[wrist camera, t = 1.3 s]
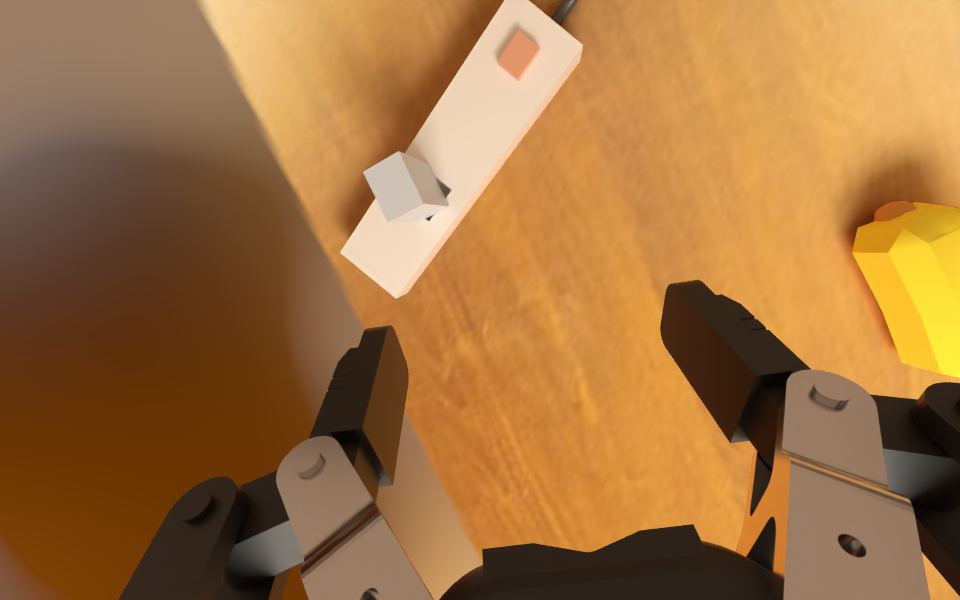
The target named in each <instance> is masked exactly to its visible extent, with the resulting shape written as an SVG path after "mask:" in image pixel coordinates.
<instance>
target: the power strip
mask: <svg viewBox="0 0 960 600" xmlns="http://www.w3.org/2000/svg"><path fill="white" fill-rule="evenodd" d="M576 2H577V0H564V1H563V2H562V4H561V5H560V7H559V8H558V10H557V11H556V12H555V14H554V15H553V17H552V18H550V17H548V16H547V15H546V14H545V13H543V12H542V11H541V10H540V9H539V8H537V7H536V6H535V5H534V4H533V3H531V2H530V1H529V0H504V2H503V3H502V5H501V6H500V8H499V9H498V11H497V13H496V14H495V16H494V17H493V19H492V20H491V22H490V23H489V25H488V26H487V28H486V29H485V31H484V33H483V34H482V36H481V37H480V39H479V40H478V42H477V43H476V45H475V46H474V48H473V49H472V51H471V52H470V54H469V56H468V57H467V59H466V60H465V62H464V63H463V65H462V66H461V68H460V69H459V71H458V72H457V74H456V75H455V77H454V79H453V80H452V82H451V83H450V85H449V86H448V88H447V89H446V91H445V92H444V94H443V95H442V97H441V98H440V100H439V102H438V103H437V105H436V106H435V108H434V109H433V111H432V112H431V114H430V115H429V117H428V118H427V120H426V121H425V123H424V125H423V126H422V128H421V129H420V131H419V132H418V134H417V135H416V137H415V138H414V140H413V141H412V143H411V144H410V146H409V148H408V149H407V151H406V152H405V154H406V155H409V156H411V157H413V158H416V159H418V160H420V161H422V162H425V163H427V164H429V165H430V167H431V169H432V171H433V173H434V175H435V177H436V180H437V182H438V184H439V186H440V188H441V190H442V192H443V194H444V197H445V199H446V201H447V203H448V205H449V207H447V208H445V209H443V210H441V211H439V212H437V213H436V214H434V215H432V216H430V217H428V218H426V219H424V220H422V221H420V222H396V223H388V222H387V220H386V218H385V216H384V214H383V212H382V210H381V208H380V206H379V204H378V202H377V200H376V198H375V200H374V201H373V203H372V204H371V206H370V207H369V209H368V210H367V212H366V214H365V215H364V217H363V218H362V220H361V221H360V223H359V224H358V226H357V227H356V229H355V230H354V232H353V233H352V235H351V237H350V238H349V240H348V241H347V243H346V244H345V246H344V247H343V249H342V250H341V252H340V253H341V254H342V255H344V256H345V257H346V258H347V259H348V260H350V261H351V262H352V263H353V264H355V265H356V266H357V267H358V268H359V269H361V270H362V271H363V272H364V273H365V274H367V275H368V276H369V277H370V278H372V279H373V280H374V281H375V282H376V283H378V284H379V285H380V286H381V287H382V288H384V289H385V290H386V291H387V292H389V293H390V294H391V295H392V296H393V297H395V298H396V299H397V298H398V297H400V296H402V295H404V294H406V293H408V291H409V290H410V289H411V287H412V286H413V285H414V283H415V282H416V281H417V279H418V278H419V277H420V275H421V274H422V273H423V271H424V270H425V268H426V267H427V266H428V264H429V263H430V262H431V260H432V259H433V258H434V256H435V255H436V254H437V252H438V251H439V250H440V248H441V247H442V246H443V244H444V243H445V242H446V240H447V239H448V238H449V236H450V235H451V234H452V232H453V231H454V230H455V228H456V227H457V226H458V224H459V223H460V222H461V220H462V219H463V217H464V216H465V215H466V213H467V212H468V211H469V209H470V208H471V207H472V205H473V204H474V203H475V201H476V200H477V199H478V197H479V196H480V195H481V193H482V192H483V191H484V189H485V188H486V187H487V185H488V184H489V183H490V181H491V180H492V179H493V177H494V176H495V175H496V173H497V172H498V171H499V169H500V168H501V166H502V165H503V164H504V162H505V161H506V160H507V158H508V157H509V156H510V154H511V153H512V152H513V150H514V149H515V148H516V146H517V145H518V144H519V142H520V141H521V140H522V138H523V137H524V136H525V134H526V133H527V132H528V130H529V129H530V128H531V126H532V125H533V124H534V122H535V121H536V120H537V118H538V117H539V115H540V114H541V113H542V111H543V110H544V109H545V107H546V106H547V105H548V103H549V102H550V101H551V99H552V98H553V97H554V95H555V94H556V93H557V91H558V90H559V89H560V87H561V86H562V85H563V83H564V82H565V81H566V79H567V78H568V77H569V75H570V74H571V73H572V71H573V70H574V69H575V67H576V66H577V64H578V63H579V62H580V59H581V54H582V49H583V45H582V44H581V43H580V42H579V41H577V40H576V39H575V38H574V37H573V36H571V35H570V34H569V33H568V32H567V31H565V30H564V29H563V28H562V27H560V24H561V23H562V21H563V20H564V19H565V17H566V16H567V14H568V13H569V12H570V10H571V9H572V7H573V6H574V5H575V3H576Z"/></svg>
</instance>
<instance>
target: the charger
mask: <svg viewBox="0 0 960 600" xmlns="http://www.w3.org/2000/svg"><path fill="white" fill-rule="evenodd" d="M363 173H364V175H365V177H366V179H367V181H368V183H369V185H370V187H371V189H372V191H373V193H374V195H375V198H376V200H377V202H378V204H379V206H380V208H381V210H382V212H383V214H384V216H385V218H386V220H387V222H388V223H396V222H420V221H422V220H424V219H426V218H428V217H430V216H432V215H434V214H436V213H437V212H439V211H441V210H443V209H445V208H447V207H449V205H448V203H447V201H446V199H445V197H444V194H443V192H442V190H441V188H440V186H439V184H438V182H437V180H436V177H435V175H434V173H433V171H432V169H431V167H430V165H429V164H427V163H425V162H422V161H420V160H418V159H416V158H413V157H411V156H409V155H406V154H404V153H402V152H400V151H398V152H396V153H394V154H393V155H391V156H389V157H388V158H386V159H384V160H382V161H381V162H379V163H377V164H376V165H374V166H372V167H370V168H369V169H367V170H365V171H364V172H363Z"/></svg>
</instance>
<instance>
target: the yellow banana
mask: <svg viewBox="0 0 960 600" xmlns="http://www.w3.org/2000/svg"><path fill="white" fill-rule="evenodd" d="M852 254H853V255H854V257H855V259H856V261H857V263H858V265H859V267H860V269H861V271H862V273H863V275H864V277H865V279H866V281H867V283H868V284H869V286H870V288H871V290H872V292H873V294H874V296H875V298H876V300H877V302H878V304H879V306H880V308H881V310H882V312H883V315H884V317H885V320H886V323H887V325H888V328H889V330H890V333H891V336H892V338H893V341H894V344H895V346H896V349H897V351H898V354H899V357H900V359H901V362H902V363H904V364H907V365H911V366H914V367H918V368H921V369H926V370H930V371H933V372H937V373H941V374H945V375H950V376H955V377H959V378H960V208H955V207H949V206H942V205H935V204H928V203H921V202H913V203H910V202H909V201H896V202H889V203H887V204H885V205H884V206H882V207H880V208H879V209H877V210H876V211H875V213H874V220H873V222H872V223H869V224H866V225H864V226H861V227H858V229H857V233H856V237H855V242H854V246H853V250H852Z"/></svg>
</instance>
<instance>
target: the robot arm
mask: <svg viewBox="0 0 960 600" xmlns="http://www.w3.org/2000/svg"><path fill="white" fill-rule="evenodd" d="M660 330H661V337H662V341H663V343H664V345H665V347H666V349H667V350H668V352H669V353H670V355H671V356H672V358H673V359H674V361H675V362H676V363H677V365H678V366H679V368H680V369H681V371H682V372H683V374H684V375H685V377H686V378H687V380H688V381H689V383H690V384H691V386H692V387H693V389H694V390H695V392H696V393H697V395H698V396H699V397H700V399H701V400H702V402H703V403H704V405H705V406H706V408H707V409H708V411H709V412H710V414H711V415H712V417H713V418H714V420H715V421H716V423H717V424H718V426H719V427H720V429H721V430H722V431H723V433H724V434H725V436H726V437H727V439H728V440H729V442H730V443H735V442H743V441H750V442H751V443H752V445H753V446H754V447H755V451H754V454H753V457H752V464H751V472H750V480H749V487H748V495H747V503H746V510H745V518H744V524H743V529H742V532H741V536H740V539H739V542H738V546H737V549H736V552H735V551H732V550H730V549H727V548H725V547H722V546H719V545H716V544H712V543H709V542H704V541H701V540H700V537H699V535H698V533H697V531H696V529H695V527H694V525H693V524H692V525H683V526H675V527H666V528H658V529H649V530H641V531H638V532H636V533H634V534H632V535H629V536H627V537H625V538H623V539H621V540H618V541H616V542H614V543H612V544H609V545H607V546H605V547H603V548H601V549H598V550H596V551H593V552H581V551H575V550H569V549H564V548H558V547H552V546H546V545H540V544H535V543H531V544H523V545H514V546H506V547H497V548H489V549H482V551H483V565H482V566H480V567H477V568H475V569H473V570H472V571H470V572H469V573H467V574H466V575H464V576H463V577H461V578H460V579H459V580H458V581H457V582H455V583H454V584H453V585H452V586H451V587H450V588H449V589H448V590H447V591H446V592H445V593H444V594H443V595H442V597H441V598H440V599H439V600H930V595H929V590H928V585H927V579H926V574H925V568H924V563H923V557H922V552H923V554H924V555H925V556H926V557H927V558H928V559H929V561H930V562H931V563H932V564H933V565H934V567H935V568H936V569H937V570H938V571H939V572H940V574H941V575H942V576H943V577H944V578H945V580H946V581H947V582H948V583H949V584H950V585H951V587H952V588H953V589H954V590H955V591H956V593H957V594H958V595H959V596H960V383H951V382H944V383H936V384H933V385H930V386H929V387H928V388H927V389H926V390H925V391H924V393H923V394H922V395H921V396H920V398H919V399H918V400H916V399H907V398H897V397H888V396H878V395H870V394H869V393H868V392H867V391H866V390H864V389H863V388H862V387H860V386H859V385H858V384H856V383H854V382H853V381H851V380H849V379H847V378H845V377H842V376H840V375H837V374H834V373H830V372H826V371H821V370H811V369H810V368H809V367H808V366H807V365H806V364H805V363H804V362H803V361H802V360H800V359H799V358H798V357H797V356H796V355H795V354H794V353H793V352H792V351H791V350H790V349H789V348H788V347H786V346H785V345H784V344H783V343H782V342H781V341H780V340H779V339H778V338H777V337H776V336H775V335H774V334H772V333H771V332H770V331H769V330H766V327H765V326H764V325H763V324H762V323H761V322H760V321H758V320H757V319H755V318H754V316H753V315H752V314H751V313H750V312H749V311H748V310H747V309H746V308H744V307H743V306H742V305H741V304H740V303H738V302H736V301H734V300H732V299H730V298H728V297H726V296H724V295H722V294H721V295H715V294H714V293H713V292H712V291H711V290H710V289H709V288H708V287H707V286H706V285H705V284H704V283H703V282H702V281H700V280H693V281H687V282H680V283H673V284H670V285H668V287H667V289H666V295H665V301H664V307H663V313H662V320H661V327H660ZM407 388H408V367H407V363H406V360H405V357H404V355H403V352H402V349H401V347H400V344H399V341H398V338H397V336H396V333H395V330H394V328H393V327H392V326H391V325H389V326H382V327H375V328H369V329H365V330H364V332H363V335H362V338H361V341H360V344H359V347H357V348H350V349H349V350H348V351H347V353H346V354H345V355H344V356H343V357H342V358H341V360H340V361H339V362H338V364H337V367H336V369H335V372H334V375H333V379H332V380H331V382H330V385H329V388H328V392H327V393H326V395H325V399H324V401H323V403H322V406H321V409H320V411H319V414H318V416H317V419H316V422H315V424H314V427H313V430H312V432H311V435H310V437H309V439H308V440H306V441H304V442H303V443H300V444H299V445H298V446H296V447H295V448H294V449H293V450H291V451H290V452H289V453H288V455H287V456H286V457H285V458H284V460H283V461H282V463H281V464H280V466H279V469H278V470H276V471H274V472H273V473H270V474H268V475H265V476H263V477H261V478H258V479H256V480H254V481H251V482H249V483H246V484H244V485H242V486H238V485H237V484H236V483H235V482H234V481H233V480H231V479H230V478H227V477H215V478H211V479H208V480H206V481H204V482H202V483H200V484H198V485H196V486H195V487H193V488H192V489H191V490H189V491H188V492H187V493H185V495H183V496H182V497H181V498H180V499H179V500H178V501H177V502H176V503H175V504H174V506H173V507H172V508H171V509H170V511H169V513H168V514H167V516H166V517H165V519H164V521H163V523H162V525H161V526H160V528H159V530H158V532H157V533H156V535H155V537H154V538H153V540H152V542H151V544H150V545H149V547H148V549H147V551H146V553H145V554H144V556H143V558H142V560H141V561H140V563H139V565H138V567H137V569H136V570H135V572H134V574H133V575H132V577H131V579H130V581H129V582H128V584H127V586H126V588H125V589H124V591H123V593H122V595H121V596H120V598H119V600H282V596H283V592H284V589H285V585H286V581H287V578H288V574H289V570H290V568H291V567H293V566H295V565H297V564H299V563H301V562H303V561H304V563H303V564H302V565H301V567H300V572H301V577H302V581H303V584H304V587H305V590H306V592H307V595H308V598H309V600H434V598H433V597H432V595H431V593H430V592H429V590H428V588H427V587H426V585H425V583H424V582H423V580H422V579H421V577H420V575H419V574H418V572H417V570H416V569H415V567H414V565H413V564H412V562H411V560H410V559H409V557H408V555H407V554H406V552H405V551H404V549H403V547H402V546H401V544H400V542H399V541H398V539H397V537H396V536H395V534H394V532H393V531H392V529H391V527H390V526H389V524H388V522H387V521H386V519H385V517H384V516H383V514H382V512H381V511H380V509H379V507H378V506H377V504H376V498H377V492H378V487H379V486H387V485H393V479H394V474H395V467H396V461H397V454H398V447H399V441H400V434H401V428H402V421H403V414H404V408H405V401H406V395H407ZM921 551H922V552H921Z"/></svg>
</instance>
